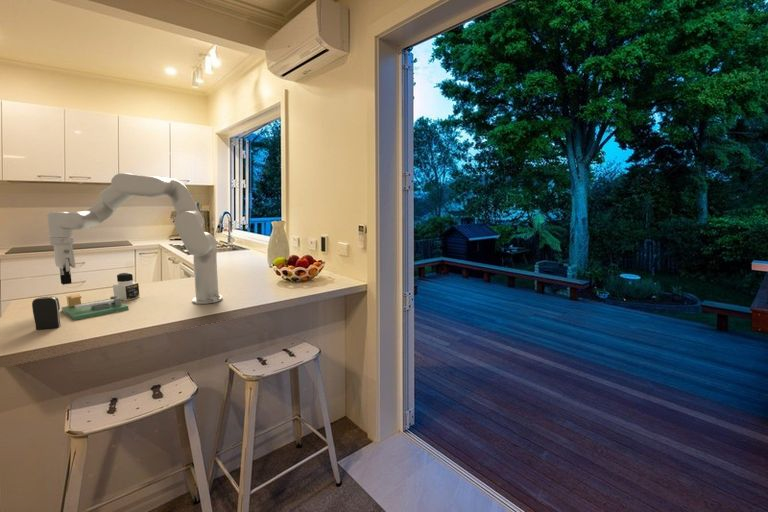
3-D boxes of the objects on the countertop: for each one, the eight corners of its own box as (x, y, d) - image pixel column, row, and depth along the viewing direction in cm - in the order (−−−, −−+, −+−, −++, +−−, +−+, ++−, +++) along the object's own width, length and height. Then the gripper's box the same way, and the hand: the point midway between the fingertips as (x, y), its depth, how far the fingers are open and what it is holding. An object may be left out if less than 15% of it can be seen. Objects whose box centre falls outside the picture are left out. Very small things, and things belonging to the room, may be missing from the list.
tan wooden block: (84, 306, 155) (82, 296, 155) (71, 308, 152) (70, 298, 152) (79, 303, 159) (78, 293, 159) (67, 305, 156) (66, 295, 155)
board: (128, 309, 158) (127, 298, 157) (74, 320, 144) (73, 308, 143) (112, 301, 169) (111, 291, 168) (61, 310, 155) (60, 299, 154)
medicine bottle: (127, 301, 170) (124, 275, 168) (113, 300, 172) (111, 274, 170) (140, 297, 177) (137, 272, 175) (127, 296, 179) (124, 271, 177)
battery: (63, 324, 138) (59, 294, 137) (59, 328, 135) (55, 297, 133) (39, 326, 136) (35, 296, 134) (34, 330, 132) (30, 299, 131)
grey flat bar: (119, 302, 158) (118, 298, 158) (77, 309, 147) (76, 305, 147) (116, 300, 160) (116, 297, 160) (74, 307, 149) (74, 304, 149)
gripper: (78, 242, 155) (82, 285, 158) (68, 238, 164) (72, 279, 167) (54, 243, 149) (59, 288, 152) (45, 240, 158) (50, 282, 161)
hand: (66, 283), depth 159 cm, fingers closed
